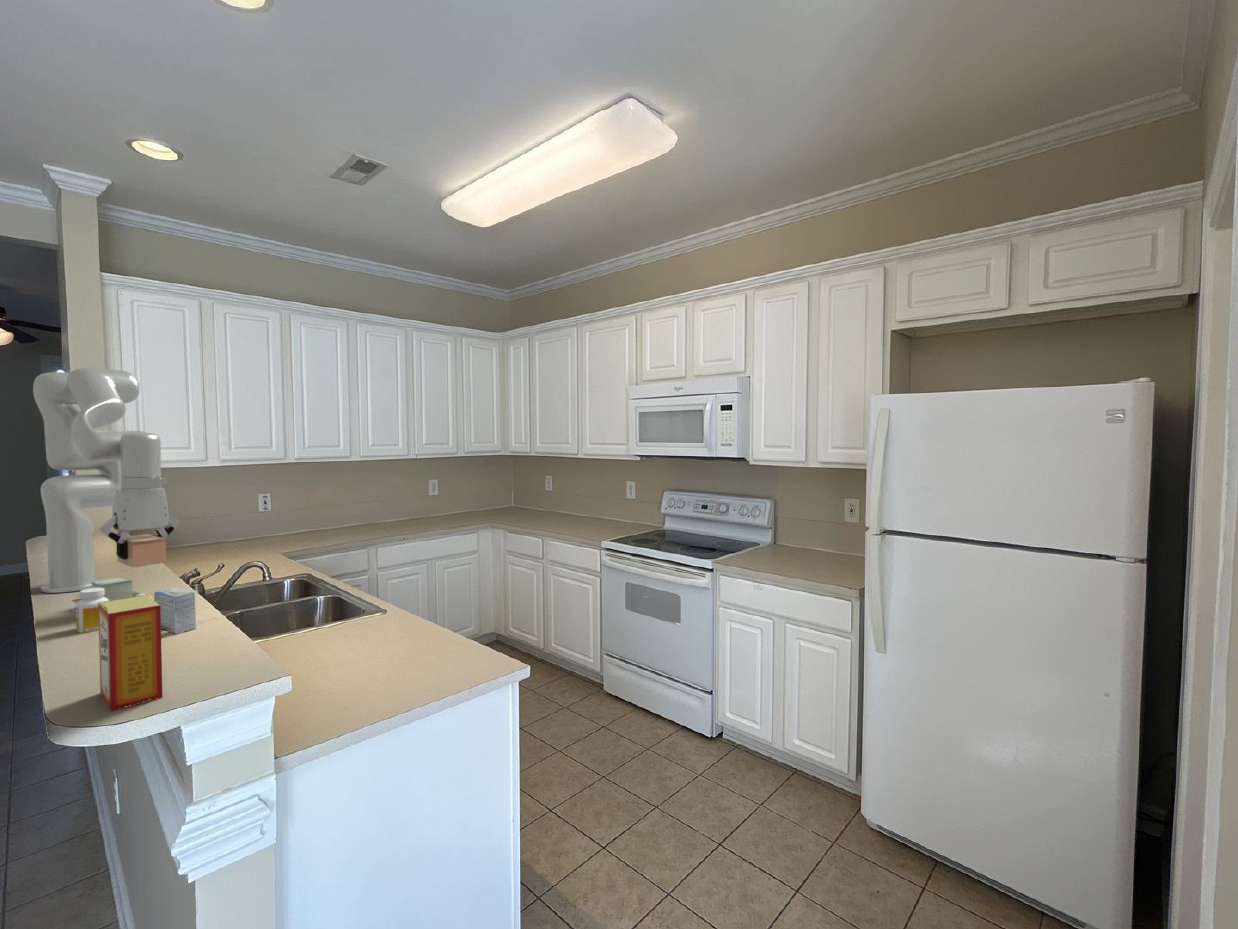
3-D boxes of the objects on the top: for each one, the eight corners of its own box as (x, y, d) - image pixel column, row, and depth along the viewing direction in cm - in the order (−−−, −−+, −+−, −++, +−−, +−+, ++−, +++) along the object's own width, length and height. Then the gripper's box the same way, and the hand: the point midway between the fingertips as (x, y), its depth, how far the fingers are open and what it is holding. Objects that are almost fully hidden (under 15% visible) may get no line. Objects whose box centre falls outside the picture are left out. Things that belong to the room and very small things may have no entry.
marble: (131, 607, 142) (130, 595, 143) (146, 604, 145) (144, 592, 145) (136, 607, 141) (135, 595, 141) (151, 604, 143) (150, 592, 144)
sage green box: (92, 606, 142) (91, 581, 142) (122, 600, 147) (122, 577, 147) (101, 610, 139) (101, 585, 139) (132, 604, 144) (132, 580, 144)
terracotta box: (117, 561, 141) (117, 537, 141) (150, 557, 147) (150, 533, 147) (132, 567, 137) (132, 542, 136) (166, 562, 142) (165, 538, 142)
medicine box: (196, 629, 131) (196, 591, 130) (174, 635, 127) (173, 596, 126) (176, 623, 134) (175, 586, 134) (154, 629, 130) (153, 591, 130)
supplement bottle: (116, 630, 129) (115, 587, 129) (92, 638, 124) (91, 593, 123) (94, 629, 130) (93, 586, 129) (69, 637, 124) (68, 592, 124)
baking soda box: (100, 693, 98) (98, 600, 97) (149, 681, 103) (147, 592, 102) (111, 711, 92) (108, 612, 91) (162, 697, 97) (160, 603, 96)
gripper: (175, 480, 150) (176, 548, 151) (88, 484, 135) (90, 560, 136) (189, 482, 146) (189, 552, 147) (101, 487, 131) (102, 565, 132)
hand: (141, 555), depth 142 cm, fingers closed on terracotta box, 6 cm apart
